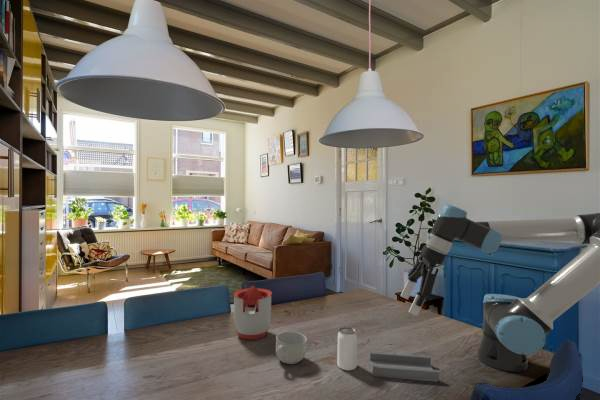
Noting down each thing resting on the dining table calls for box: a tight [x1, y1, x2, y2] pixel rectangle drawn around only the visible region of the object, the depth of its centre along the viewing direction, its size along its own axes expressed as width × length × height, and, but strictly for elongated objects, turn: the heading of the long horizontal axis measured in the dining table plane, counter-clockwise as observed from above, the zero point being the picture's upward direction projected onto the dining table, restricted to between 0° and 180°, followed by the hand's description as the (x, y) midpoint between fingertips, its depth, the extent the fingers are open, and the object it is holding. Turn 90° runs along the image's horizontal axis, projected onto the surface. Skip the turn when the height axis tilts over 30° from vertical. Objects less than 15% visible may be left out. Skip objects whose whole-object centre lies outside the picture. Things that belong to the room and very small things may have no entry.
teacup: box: [275, 331, 308, 365], centre depth 113 cm, size 14×11×8 cm
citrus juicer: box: [233, 285, 273, 340], centre depth 134 cm, size 16×17×20 cm
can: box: [336, 326, 358, 372], centre depth 110 cm, size 6×6×12 cm
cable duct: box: [369, 351, 440, 383], centre depth 108 cm, size 20×10×3 cm, turn 83°
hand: (408, 305), depth 112 cm, fingers open, 13 cm apart
